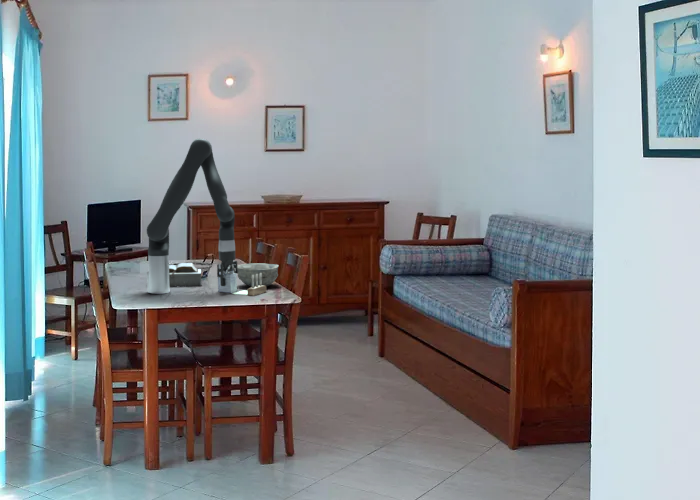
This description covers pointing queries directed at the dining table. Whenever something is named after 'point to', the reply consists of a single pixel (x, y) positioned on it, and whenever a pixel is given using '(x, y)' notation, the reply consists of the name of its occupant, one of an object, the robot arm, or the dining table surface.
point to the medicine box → (228, 283)
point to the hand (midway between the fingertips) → (227, 284)
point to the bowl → (267, 272)
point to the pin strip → (256, 289)
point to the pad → (241, 292)
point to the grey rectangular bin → (184, 275)
